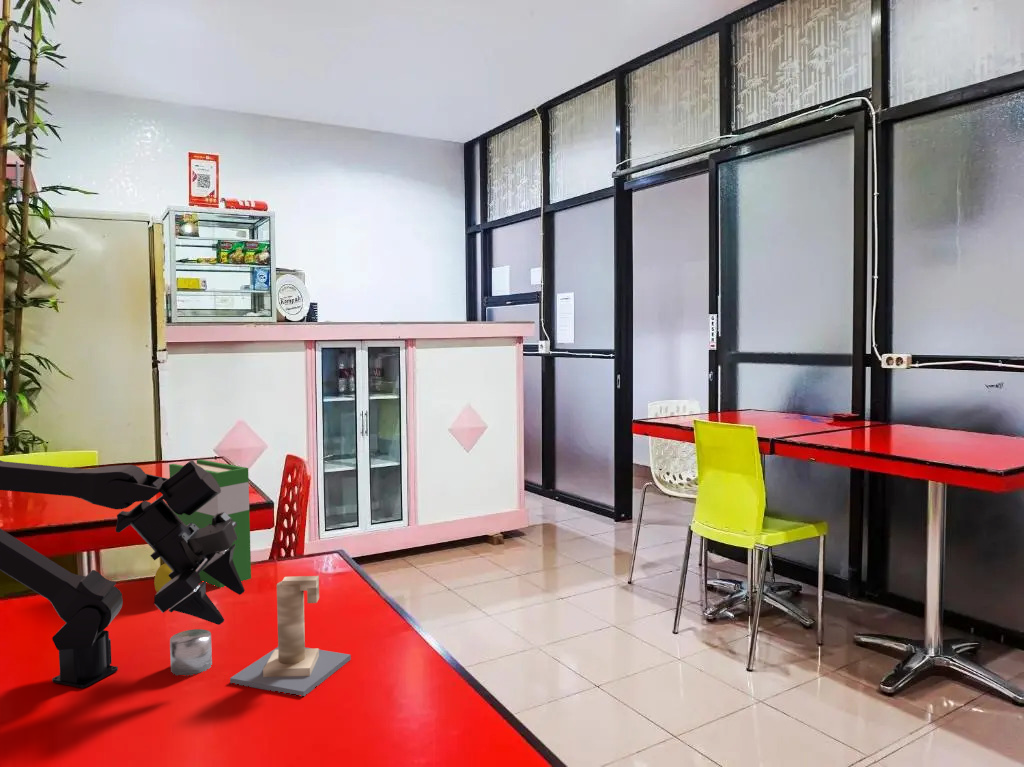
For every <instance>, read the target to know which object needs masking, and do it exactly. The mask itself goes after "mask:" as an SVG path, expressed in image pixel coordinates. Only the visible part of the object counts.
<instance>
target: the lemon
mask: <svg viewBox="0 0 1024 767" xmlns="http://www.w3.org/2000/svg"><path fill="white" fill-rule="evenodd" d="M171 572H172V570H171V569H170V568H169V566H168V565H167V564H166V563H165V562H164V563H163V564H161V565H160V566H159V567H158V568H157V570H156V571H155V575H154V580H153V581H154V584H153V585H154V589H155V592H156V593H157V592H158V591H159V590H160V589H161V588H162V587H163V586H164V585H165V584H166V583H168V582H169V581H170V580H172V579H171V578H170V577H169V576H168V575H169V574H170V573H171Z"/></svg>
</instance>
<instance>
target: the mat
mask: <svg viewBox="0 0 1024 767" xmlns="http://www.w3.org/2000/svg"><path fill="white" fill-rule="evenodd" d="M277 649H278V646H277V647H275V648H274V649H273V650H271V651H269V652H268V653H266V654H265V655H263V656H262V657H260V658H259V659H257V660H255V661H254V662H252V663H251V664H250V665H248V666H246V667H245V668H243V669H242V670H240V671H239V672H237V673H235V674H234V675H233V676H231V677H229V681H230V682H229V683H230V684H232V683H235V684H234V685H237V684H239V685H238V686H243V685H244V687H248V686H249V687H250V688H253V689H254V688H255V689H260V690H264V691H270V690H271V692H275V691H278V692H277V693H280V692H284V693H283V694H286V693H290V694H289V695H291V694H296V695H301V696H300V697H302V696H304V697H305V696H307V695H308V694H309V693H310V692H312V691H313V690H314V689H315V687H316V686H317V687H319V685H321V684H322V683H323V682H325V681H326V680H327V679H329V677H330V676H332V675H333V674H335V673H336V672H337V671H338V670H339V669H341V668H342V667H344V665H346V664H347V663H348V662H349V661H351V660H352V657H351V656H352V655H351V654H349V653H343V652H336V651H330V650H323V649H319V657H318V659H317V661H316V664H315V666H314V668H313V670H312V673H311V675H310V676H282V677H263V669H264V667H265V665H266V664H267V662H268V660H269V659H270V657H271V655H272V653H273V652H274V650H277ZM305 649H313V648H311V647H306V646H305ZM317 687H316V688H317ZM306 694H307V695H306ZM296 695H295V696H296Z"/></svg>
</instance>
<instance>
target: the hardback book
mask: <svg viewBox="0 0 1024 767" xmlns="http://www.w3.org/2000/svg"><path fill="white" fill-rule="evenodd" d="M196 465H198V466H200V467H202V468H203V469H204V470H205V471H206V472H207V473H208V472H209V473H210V474H211V475H212V476H213V477H214V479H215V480H216V481H217V483H218V485H219V487H220V489H221V493H219V494H218V495H217V496H215V497H214V498H213V499H212V500H210V501H209V502H208V503H206V504H205V505H204V506H202V507H201V508H200V509H198V510H197V511H196V512H194V513H193V514H192V515H186V514H185V513H184V514H182V515H179V514H177V513H175V512H174V511H173V512H174V513H175V514H176V515H177V516H178V517H179V518H180V519H181V521H182V522H183V523H184V524H185V525H186V526H187V525H188V524H190V523H192V524H195V525H196V526H197V527H198V528H199V529H201V528H204V527H206V526H207V525H208V524H211V525H212V519H213V517H214V516H215V515H216V514H219V513H222V512H225V513H226V514H227V515H228V516H229V517H230V518H232V520H233V521H235V522H236V523H237V526H236V527H235V528H234V530H235V532H236V535H237V537H238V538H237V540H235V541H234V542H233V543H232V545H234V544H235V548H234V553H233V562H234V565H235V568H236V570H237V573H238V575H239V577H240V580H241V581H242V582H244V581H243V580H245V581H247V580H251V579H252V563H251V562H252V558H251V557H252V556H251V553H252V552H251V522H250V520H251V518H250V515H251V514H250V486H249V467H245V466H239V465H234V464H227V463H222V462H215V461H211V460H210V461H209V460H206V459H196ZM183 466H184V465H181V464H177V463H170V464H169V466H168V467H169V478H170V477H171V476H173V475H174V474H175V473H177V472H178V471H179V470H180V469H181V468H182V467H183ZM203 569H204V568H203ZM203 569H202V570H201V572H200V573H199V575H200V579H201V581H206V582H207V583H209V584H212V585H215V586H217V587H216V588H218V587H220V588H219V589H222V588H221V587H223V588H225V587H224V585H223V584H222V583H220V582H219V581H217V580H216V579H214V578H213V577H211V576H210V575H208V574H207V573H205V572H204V571H203ZM209 584H208V585H209ZM212 585H211V586H212ZM215 586H214V587H215Z"/></svg>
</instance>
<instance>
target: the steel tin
mask: <svg viewBox="0 0 1024 767" xmlns="http://www.w3.org/2000/svg"><path fill="white" fill-rule="evenodd" d="M212 650H213V649H212V633H211V631H210V630H207V629H202V628H199V629H198V628H197V629H196V628H194V629H187V630H183V631H181V632H178V633H175V634H173V635H172V636H171V637H170V639H169V652H170V653H169V654H170V656H169V657H170V673H171V672H172V673H173V674H172V673H171V674H172V675H174V674H175V676H178V675H185V676H184V677H189V676H188V675H190V676H194V675H193V674H195V675H199V674H202V673H204V672H206V671H208V670H209V669H210V668H211V667H212V666H211V665H213V658H212V657H213V655H212V654H213V652H212ZM207 669H208V670H207ZM203 671H204V672H203ZM201 672H202V673H201ZM198 673H199V674H198ZM186 675H187V676H186Z"/></svg>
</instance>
